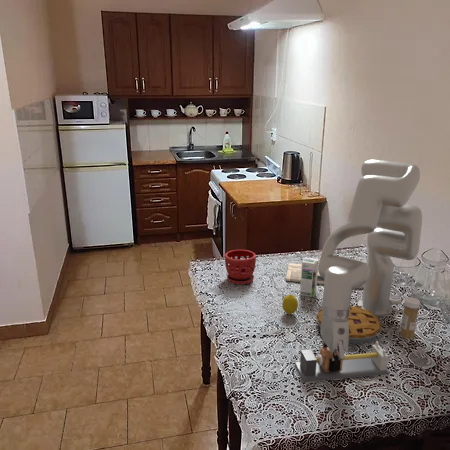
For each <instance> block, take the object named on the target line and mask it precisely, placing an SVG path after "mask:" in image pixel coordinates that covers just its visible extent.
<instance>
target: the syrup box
mask: <svg viewBox="0 0 450 450" xmlns="http://www.w3.org/2000/svg"><path fill="white" fill-rule="evenodd" d="M319 260H320V258H319V259H317V258H311V257H306V256H305V257H304V258H303V260H302V262H301V264H302V269H301V282H300V286H299V287H300V288H299V289H300V290H299V295H300V296H304V297H309V298H314V297H315V295H316V293H317V287H318V286H317V285H318V284H317V275H318V265H319Z"/></svg>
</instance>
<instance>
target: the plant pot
mask: <svg viewBox="0 0 450 450" xmlns="http://www.w3.org/2000/svg"><path fill="white" fill-rule="evenodd" d="M241 258H243V259H241ZM256 263H257V255H256V253H255V252H253V251H251V250H248V249H234V250H233V249H232V250H230V251H227V252H226V253H225V254H224V264H225V268H226V272H227V275H226V278H227V280H228V281H229V282H230V283H232V284H234V285H248V284H250V283H252V282H253V281H254V279H255V275H254V272H255V269H256ZM247 283H248V284H247Z"/></svg>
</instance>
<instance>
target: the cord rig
mask: <svg viewBox="0 0 450 450" xmlns="http://www.w3.org/2000/svg"><path fill="white" fill-rule="evenodd" d="M344 355H345V359H343V363H342V371H334V372H325V371H324V369H323V368H322V366H321V365H323V362H324V360H325V358H324V357H322V355H320V354H317V355H316V356H315V354H314V352H313V351H312V349H301V351H300V361H298V362H297V361H296V362H295V363H294V364H295V365H296V366H295V365H294V366H295V367H296V369H297V372H298V374H299V375H300V378H301V380H302V382H303V383H309V382H318V381H330V380H332V381H333V380H341V379H342V380H343V379H353V378H361V377H363V378H364V377H375V376H383V375H390V374H391V371H390V370H389V369H388V363H389V355H388V353H387V350H386V349H383V348H382V347H381V346H380V343H379V341H378V340H376V341H375V344H372V345H371V351H370V352H367V353H366V352H365V353H354V354H344Z"/></svg>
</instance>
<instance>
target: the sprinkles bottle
mask: <svg viewBox="0 0 450 450" xmlns="http://www.w3.org/2000/svg"><path fill="white" fill-rule="evenodd" d="M403 305H404V308H403V312H402V318H401V319H402V320H401V328H400V332H399V335H400V337H402V338H404V339H406V340H407V339H408V340H412V339H414V338H415V331H416V327H417V322H418V314H419V313H418V312H419V309H420V305H421V301H420V300H419V299H417V298H415V297H412V296H411V297H409V296H408V297H406V298H405V299H404V304H403Z"/></svg>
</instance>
